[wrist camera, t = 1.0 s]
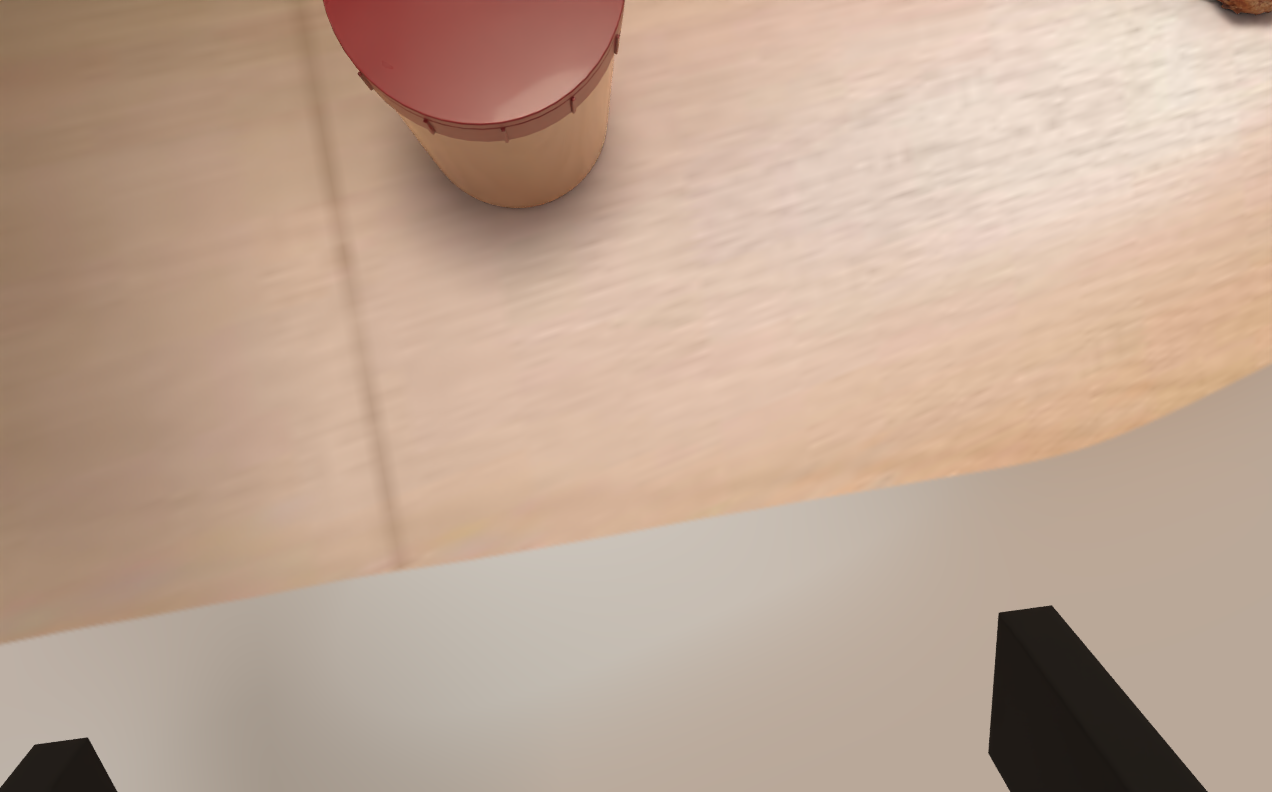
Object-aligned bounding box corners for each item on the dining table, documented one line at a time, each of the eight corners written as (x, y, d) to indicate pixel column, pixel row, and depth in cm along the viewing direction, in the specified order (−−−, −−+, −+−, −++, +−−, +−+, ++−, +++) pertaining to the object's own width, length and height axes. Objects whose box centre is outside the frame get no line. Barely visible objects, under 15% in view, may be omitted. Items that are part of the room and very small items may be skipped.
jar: (389, 65, 34) (278, -102, 22) (560, -9, 34) (547, -217, 22) (470, 238, 35) (406, 171, 22) (637, 163, 35) (666, 55, 23)
